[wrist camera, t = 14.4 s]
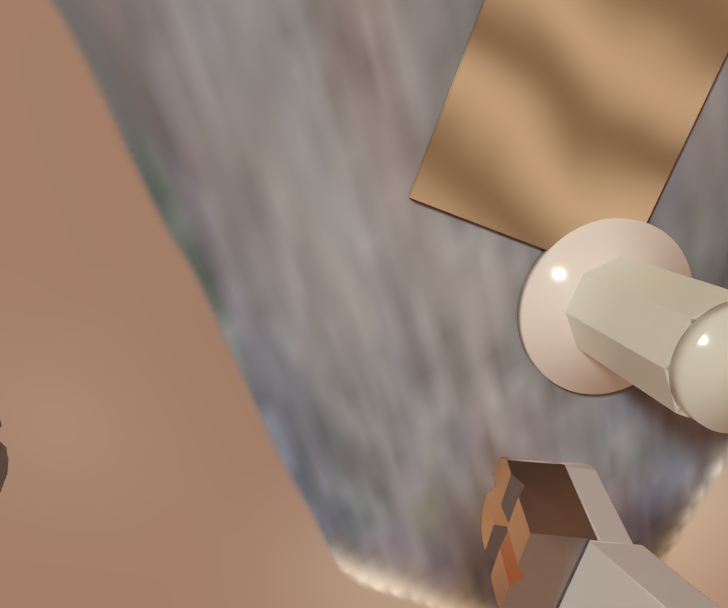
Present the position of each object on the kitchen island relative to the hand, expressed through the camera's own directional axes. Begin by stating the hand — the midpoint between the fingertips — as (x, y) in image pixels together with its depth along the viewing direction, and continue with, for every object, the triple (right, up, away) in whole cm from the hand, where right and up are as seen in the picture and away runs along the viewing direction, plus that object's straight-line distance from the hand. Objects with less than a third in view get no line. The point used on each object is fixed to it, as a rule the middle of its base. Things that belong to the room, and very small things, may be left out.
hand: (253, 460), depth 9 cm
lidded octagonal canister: (+17, +2, +25) cm, 30 cm away
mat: (+14, +14, +22) cm, 29 cm away
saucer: (+17, +2, +26) cm, 31 cm away
